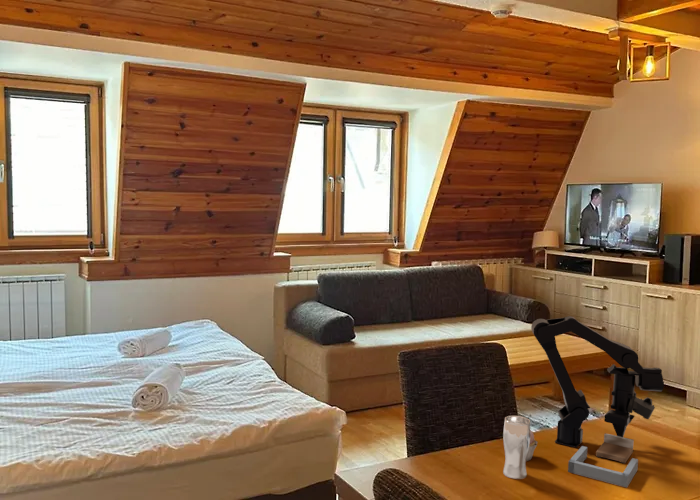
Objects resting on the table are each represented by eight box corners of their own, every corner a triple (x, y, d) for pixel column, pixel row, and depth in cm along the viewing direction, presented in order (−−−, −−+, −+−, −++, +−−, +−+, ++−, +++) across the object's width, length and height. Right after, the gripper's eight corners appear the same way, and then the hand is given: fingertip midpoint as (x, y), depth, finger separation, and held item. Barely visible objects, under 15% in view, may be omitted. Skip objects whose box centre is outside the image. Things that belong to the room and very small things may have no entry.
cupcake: (521, 448, 185) (523, 415, 184) (543, 460, 177) (545, 426, 176) (496, 453, 181) (497, 419, 180) (517, 466, 173) (519, 430, 172)
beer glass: (513, 482, 163) (516, 426, 162) (496, 471, 169) (498, 417, 168) (533, 477, 166) (536, 422, 165) (515, 466, 172) (518, 413, 171)
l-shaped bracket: (595, 456, 180) (596, 443, 180) (604, 446, 189) (605, 433, 188) (625, 464, 176) (626, 450, 176) (632, 452, 184) (633, 439, 184)
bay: (567, 471, 170) (568, 461, 170) (581, 455, 181) (582, 445, 181) (627, 487, 161) (627, 476, 161) (637, 469, 172) (638, 459, 172)
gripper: (647, 401, 174) (643, 456, 176) (658, 386, 190) (655, 436, 191) (605, 393, 181) (602, 446, 182) (619, 379, 196) (616, 427, 197)
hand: (620, 439), depth 188 cm, fingers closed
